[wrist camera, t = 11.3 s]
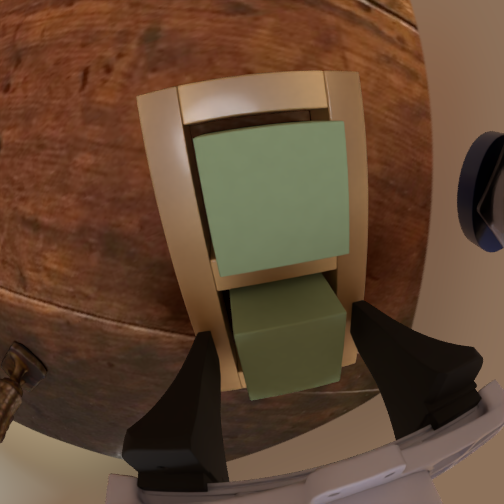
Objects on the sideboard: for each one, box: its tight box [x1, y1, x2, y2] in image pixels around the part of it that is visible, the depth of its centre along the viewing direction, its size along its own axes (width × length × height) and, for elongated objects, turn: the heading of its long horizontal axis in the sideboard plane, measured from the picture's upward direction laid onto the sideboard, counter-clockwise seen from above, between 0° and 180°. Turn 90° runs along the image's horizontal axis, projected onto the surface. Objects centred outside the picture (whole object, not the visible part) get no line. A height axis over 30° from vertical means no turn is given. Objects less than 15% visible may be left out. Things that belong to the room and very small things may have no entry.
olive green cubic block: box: [229, 272, 347, 400], centre depth 14 cm, size 5×5×5 cm
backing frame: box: [136, 71, 368, 391], centre depth 14 cm, size 9×16×2 cm, turn 8°
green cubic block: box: [193, 121, 349, 277], centre depth 11 cm, size 5×5×5 cm
